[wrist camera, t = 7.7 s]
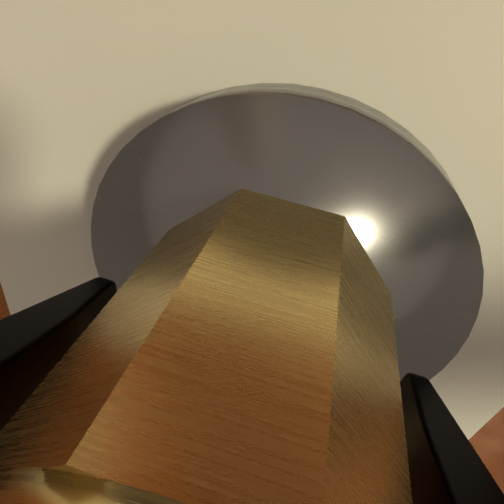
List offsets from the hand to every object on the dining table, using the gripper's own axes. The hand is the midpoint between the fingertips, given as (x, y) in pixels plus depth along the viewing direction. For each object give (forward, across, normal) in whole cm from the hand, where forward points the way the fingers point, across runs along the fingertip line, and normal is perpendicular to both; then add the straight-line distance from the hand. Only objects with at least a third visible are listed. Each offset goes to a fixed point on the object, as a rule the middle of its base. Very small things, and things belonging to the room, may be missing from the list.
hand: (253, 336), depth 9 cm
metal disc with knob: (+3, 0, 0) cm, 3 cm away
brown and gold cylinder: (+1, 0, 0) cm, 1 cm away
